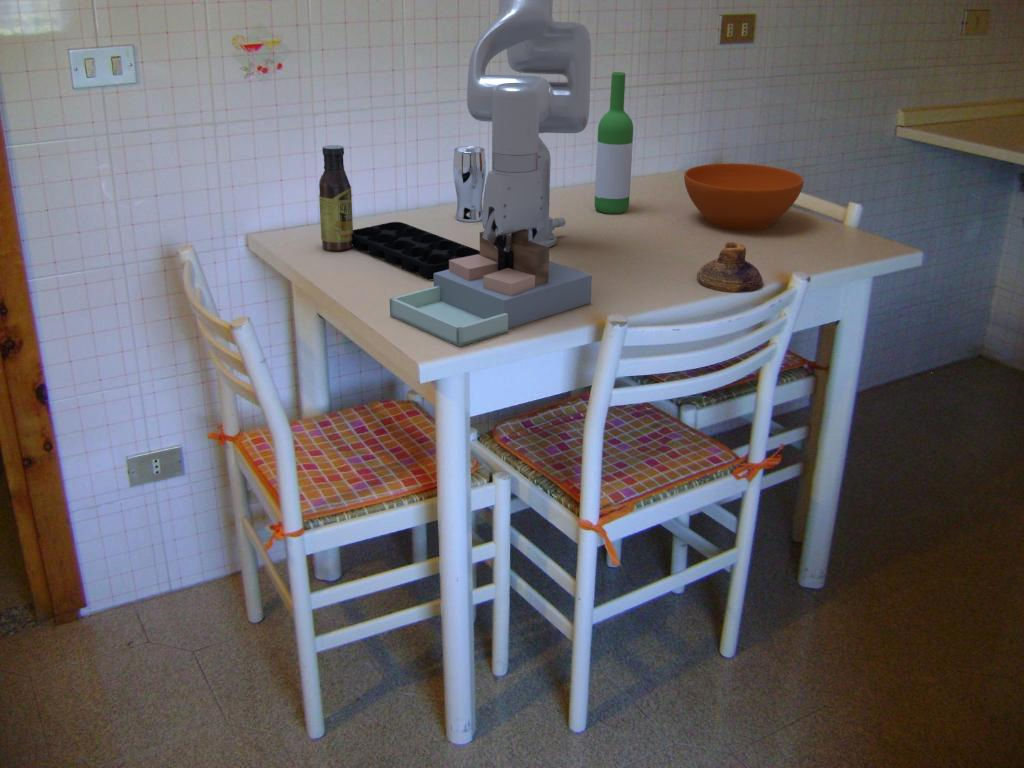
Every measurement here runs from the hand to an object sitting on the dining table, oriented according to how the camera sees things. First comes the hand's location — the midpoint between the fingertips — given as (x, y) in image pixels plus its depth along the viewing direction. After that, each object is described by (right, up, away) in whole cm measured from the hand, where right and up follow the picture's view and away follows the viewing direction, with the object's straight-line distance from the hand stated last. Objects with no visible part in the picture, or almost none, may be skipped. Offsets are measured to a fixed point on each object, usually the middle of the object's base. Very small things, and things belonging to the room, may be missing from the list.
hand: (513, 269), depth 180 cm
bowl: (+49, +16, +52) cm, 74 cm away
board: (0, -5, +2) cm, 6 cm away
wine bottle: (+22, +19, +59) cm, 66 cm away
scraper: (0, -1, 0) cm, 1 cm away
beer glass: (-9, +16, +51) cm, 55 cm away
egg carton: (-19, +4, +25) cm, 32 cm away
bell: (+39, -1, +14) cm, 42 cm away
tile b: (-1, -4, -6) cm, 7 cm away
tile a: (-7, -1, +1) cm, 7 cm away
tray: (-11, -10, -7) cm, 16 cm away
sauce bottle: (-35, +7, +30) cm, 47 cm away
